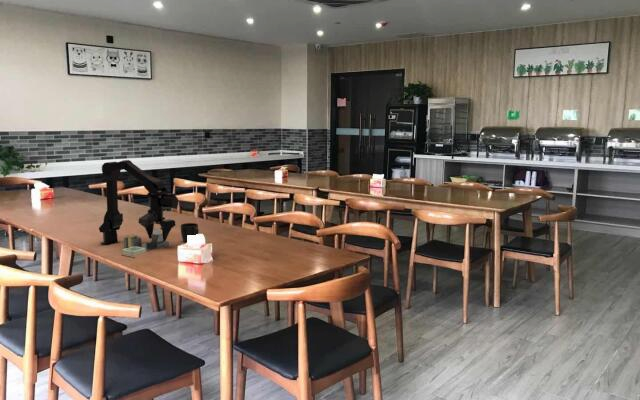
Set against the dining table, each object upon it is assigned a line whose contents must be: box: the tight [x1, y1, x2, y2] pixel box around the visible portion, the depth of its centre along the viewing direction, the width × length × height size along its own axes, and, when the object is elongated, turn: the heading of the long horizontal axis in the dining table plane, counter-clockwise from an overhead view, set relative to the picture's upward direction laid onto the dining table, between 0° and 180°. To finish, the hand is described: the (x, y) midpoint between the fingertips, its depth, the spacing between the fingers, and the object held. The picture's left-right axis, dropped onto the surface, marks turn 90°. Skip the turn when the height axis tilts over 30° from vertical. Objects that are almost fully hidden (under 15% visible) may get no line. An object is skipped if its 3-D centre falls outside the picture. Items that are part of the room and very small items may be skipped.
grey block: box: [151, 227, 164, 244], centre depth 250 cm, size 4×4×8 cm
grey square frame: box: [120, 246, 147, 259], centre depth 237 cm, size 8×8×3 cm
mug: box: [180, 222, 200, 244], centre depth 258 cm, size 8×12×10 cm
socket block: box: [123, 236, 170, 252], centre depth 248 cm, size 14×15×6 cm
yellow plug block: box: [125, 234, 138, 247], centre depth 245 cm, size 4×4×5 cm
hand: (157, 239), depth 250 cm, fingers open, 9 cm apart
